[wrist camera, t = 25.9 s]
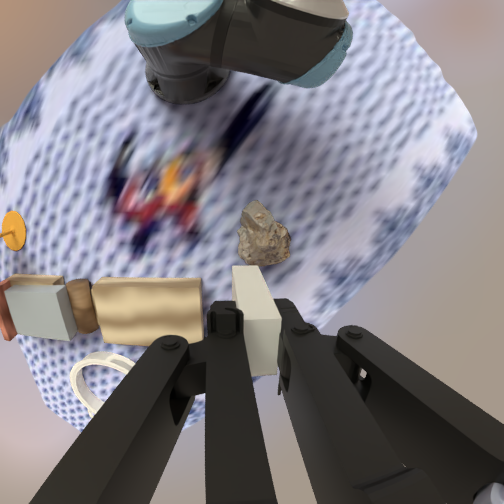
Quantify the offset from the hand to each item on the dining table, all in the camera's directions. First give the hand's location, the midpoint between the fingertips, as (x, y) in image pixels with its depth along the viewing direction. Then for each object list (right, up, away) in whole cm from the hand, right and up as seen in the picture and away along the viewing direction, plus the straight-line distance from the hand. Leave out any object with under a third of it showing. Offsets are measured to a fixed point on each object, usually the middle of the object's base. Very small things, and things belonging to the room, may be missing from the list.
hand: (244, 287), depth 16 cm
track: (-32, -9, +32) cm, 46 cm away
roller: (-31, -8, +30) cm, 44 cm away
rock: (+1, +5, +33) cm, 33 cm away
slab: (-43, -9, +27) cm, 51 cm away
